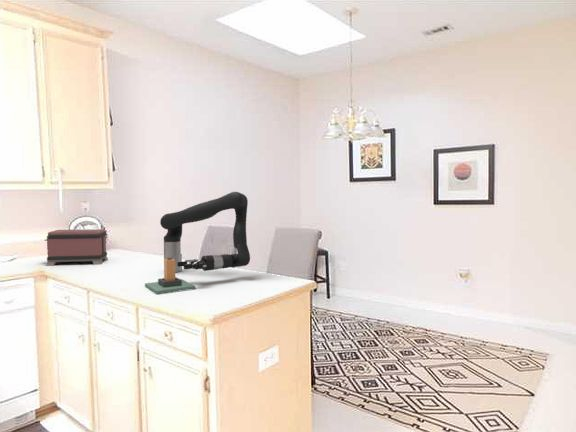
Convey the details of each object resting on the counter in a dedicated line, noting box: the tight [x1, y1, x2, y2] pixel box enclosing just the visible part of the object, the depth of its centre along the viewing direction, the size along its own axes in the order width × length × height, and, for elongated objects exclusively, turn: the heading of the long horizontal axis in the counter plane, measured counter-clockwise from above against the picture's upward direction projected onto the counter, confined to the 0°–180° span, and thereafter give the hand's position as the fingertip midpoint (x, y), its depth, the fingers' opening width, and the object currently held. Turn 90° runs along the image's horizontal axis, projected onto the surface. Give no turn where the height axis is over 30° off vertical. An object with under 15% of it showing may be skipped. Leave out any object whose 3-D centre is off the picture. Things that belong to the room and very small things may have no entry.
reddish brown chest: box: [44, 228, 109, 267], centre depth 255 cm, size 19×34×21 cm, turn 102°
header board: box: [144, 276, 196, 295], centre depth 189 cm, size 18×18×4 cm
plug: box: [163, 258, 176, 281], centre depth 189 cm, size 4×4×13 cm
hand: (180, 265), depth 192 cm, fingers open, 8 cm apart
